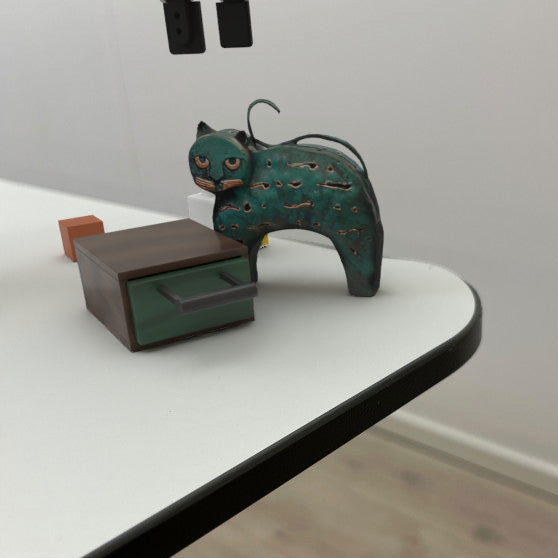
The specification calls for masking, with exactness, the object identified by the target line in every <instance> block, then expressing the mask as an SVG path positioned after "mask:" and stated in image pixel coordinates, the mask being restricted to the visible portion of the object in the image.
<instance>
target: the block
mask: <svg viewBox="0 0 558 558" xmlns="http://www.w3.org/2000/svg"><path fill="white" fill-rule="evenodd" d="M57 223H58V228H59V233H60V239H61V244H62V247H63V252H64V253H63V254H64V255H65V256H66V257H68V258H69V259H70V260H71V261H72V262H74V263H75V262H77V257H76V252H75V246H74V242H73V239H75V238H80V237H86V236H91V235H97V234H103V233H106V232H105V231H106V230H105V225H104V221H103V220H102V219H101V218H98V217H97V216H95V215H94V214H88V215H83V216H77V217H71V218H64V219H58V220H57Z"/></svg>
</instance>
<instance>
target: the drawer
mask: <svg viewBox="0 0 558 558" xmlns="http://www.w3.org/2000/svg"><path fill="white" fill-rule="evenodd" d="M126 284H127V290H128V296H129V301H130V307H131V313H132V319H133V324H134V330H135V336H136V341H137V343H139V344H140V345H145V344H149V343H153V342H157V341H161V340H165V339H168V338H172V337H176V336H180V335H184V334H188V333H192V332H196V331H200V330H203V329H207V328H211V327H215V326H219V325H223V324H227V323H231V322H235V321H238V320H242V319H246V318H250V317H254V315H255V310H254V311H253V305H254V300H253V301H252V298H253V299H255V298H257V297H259V288H258V286H257V284H256V282H255V283H254V282H250V272H249V262H248V259H246V258H244V257H240V258H235V259H231V258H228V259H223V260H218V261H213V262H209V263H204V264H199V265H195V266H190V267H185V268H180V269H176V270H171V271H166V272H162V273H157V274H152V275H147V276H143V277H138V278H133V279H128V281H127V282H126Z"/></svg>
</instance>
